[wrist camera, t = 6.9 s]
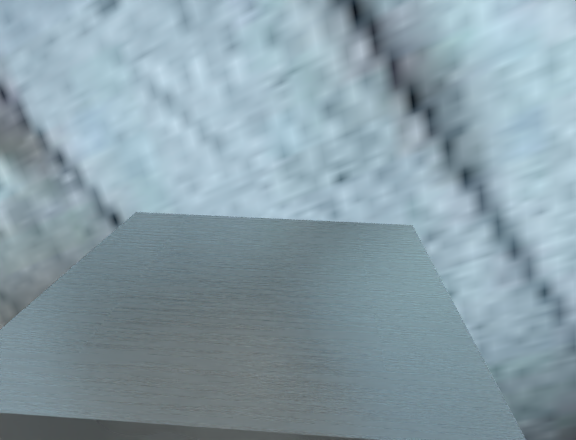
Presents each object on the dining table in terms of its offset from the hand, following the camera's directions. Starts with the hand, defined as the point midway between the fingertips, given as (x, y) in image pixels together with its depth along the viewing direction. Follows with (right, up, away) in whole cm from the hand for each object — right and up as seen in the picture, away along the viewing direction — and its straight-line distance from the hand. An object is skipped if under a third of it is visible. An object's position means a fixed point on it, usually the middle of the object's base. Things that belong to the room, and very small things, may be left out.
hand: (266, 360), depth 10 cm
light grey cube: (0, 0, +1) cm, 1 cm away
